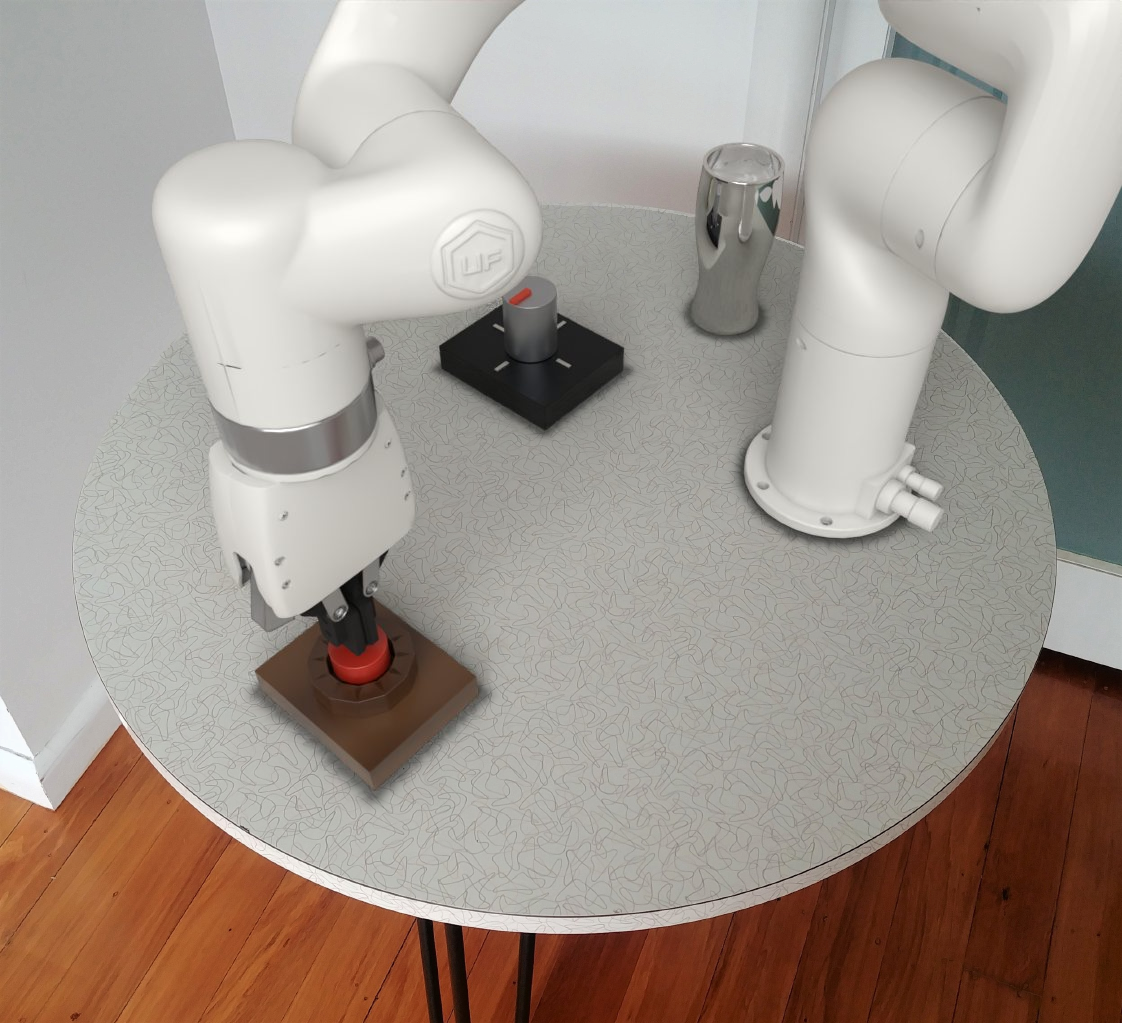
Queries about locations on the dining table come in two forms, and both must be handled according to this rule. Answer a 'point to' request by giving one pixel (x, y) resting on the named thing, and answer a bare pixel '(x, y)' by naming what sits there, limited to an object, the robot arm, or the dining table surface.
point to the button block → (370, 697)
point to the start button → (361, 661)
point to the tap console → (532, 368)
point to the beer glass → (734, 233)
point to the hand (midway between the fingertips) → (352, 635)
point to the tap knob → (531, 320)
